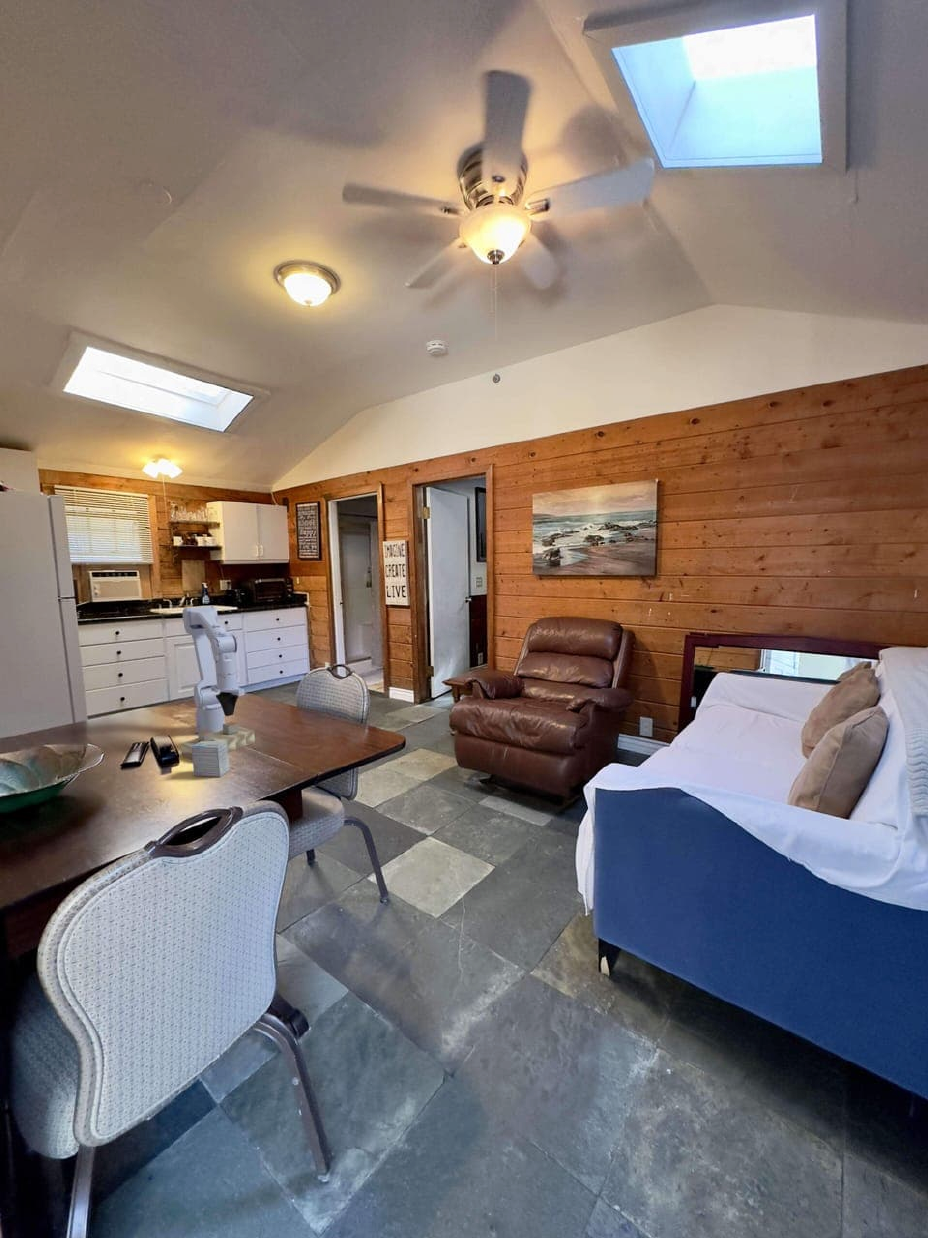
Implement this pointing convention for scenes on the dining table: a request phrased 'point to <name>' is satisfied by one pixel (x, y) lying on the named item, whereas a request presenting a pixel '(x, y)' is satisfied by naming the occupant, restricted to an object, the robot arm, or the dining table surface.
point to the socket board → (233, 741)
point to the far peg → (230, 728)
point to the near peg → (206, 735)
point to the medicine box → (210, 758)
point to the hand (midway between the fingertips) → (229, 715)
